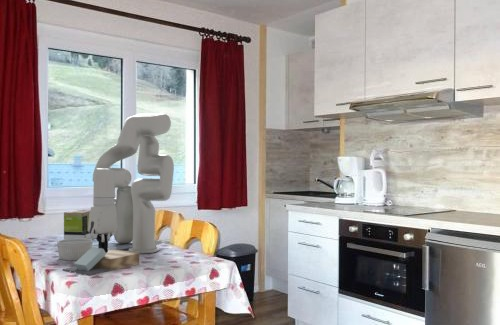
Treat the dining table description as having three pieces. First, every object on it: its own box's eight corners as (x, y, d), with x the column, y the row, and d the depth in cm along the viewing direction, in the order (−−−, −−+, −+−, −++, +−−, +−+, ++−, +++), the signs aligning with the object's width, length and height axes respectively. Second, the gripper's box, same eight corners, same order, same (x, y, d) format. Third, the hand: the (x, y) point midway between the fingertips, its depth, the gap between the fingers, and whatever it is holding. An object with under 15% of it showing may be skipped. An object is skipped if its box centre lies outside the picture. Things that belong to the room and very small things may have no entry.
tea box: (78, 237, 234) (79, 208, 234) (97, 238, 233) (97, 209, 233) (62, 242, 219) (63, 211, 219) (82, 243, 218) (83, 212, 218)
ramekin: (81, 253, 191) (81, 237, 191) (99, 258, 182) (99, 240, 182) (50, 258, 180) (51, 240, 180) (67, 262, 172) (68, 244, 172)
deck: (113, 259, 179) (113, 249, 179) (139, 263, 172) (139, 253, 172) (83, 265, 167) (84, 254, 167) (110, 270, 160) (110, 259, 160)
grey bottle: (125, 241, 224) (126, 184, 225) (139, 243, 218) (140, 185, 219) (108, 243, 216) (109, 184, 217) (122, 246, 210) (124, 185, 211)
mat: (83, 265, 167) (83, 264, 167) (110, 270, 160) (110, 269, 160) (62, 270, 159) (62, 269, 159) (89, 275, 152) (89, 274, 152)
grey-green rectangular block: (94, 252, 166) (92, 247, 165) (106, 254, 163) (103, 248, 162) (76, 268, 160) (74, 263, 159) (88, 271, 157) (85, 265, 156)
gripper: (112, 200, 174) (111, 248, 174) (80, 202, 161) (79, 254, 161) (126, 201, 170) (125, 250, 170) (94, 203, 158) (93, 256, 157)
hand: (103, 252), depth 166 cm, fingers closed
